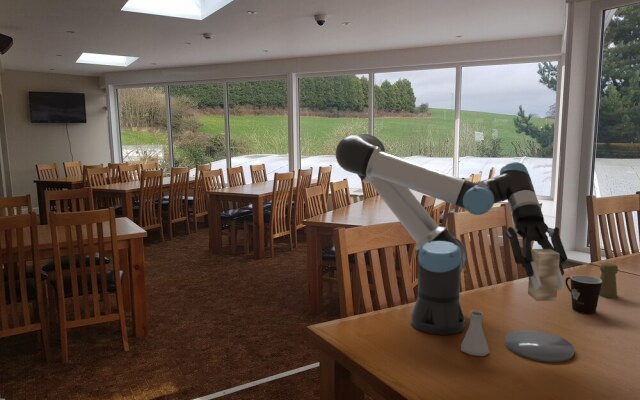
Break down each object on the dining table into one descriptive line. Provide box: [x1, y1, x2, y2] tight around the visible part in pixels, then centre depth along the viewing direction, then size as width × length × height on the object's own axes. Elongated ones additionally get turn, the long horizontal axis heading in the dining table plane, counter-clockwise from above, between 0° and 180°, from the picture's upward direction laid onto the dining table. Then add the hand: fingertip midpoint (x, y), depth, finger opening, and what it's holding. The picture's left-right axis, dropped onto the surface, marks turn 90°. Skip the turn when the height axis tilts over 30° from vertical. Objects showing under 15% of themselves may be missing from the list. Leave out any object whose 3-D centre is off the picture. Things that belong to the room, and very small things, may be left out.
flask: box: [460, 310, 490, 357], centre depth 118 cm, size 7×7×10 cm
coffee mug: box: [564, 274, 602, 315], centre depth 146 cm, size 12×9×10 cm
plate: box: [504, 329, 575, 363], centre depth 120 cm, size 16×16×1 cm
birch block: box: [527, 248, 560, 302], centre depth 117 cm, size 5×5×12 cm
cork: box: [599, 262, 619, 299], centre depth 158 cm, size 6×6×11 cm
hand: (549, 287), depth 114 cm, fingers closed on birch block, 5 cm apart
